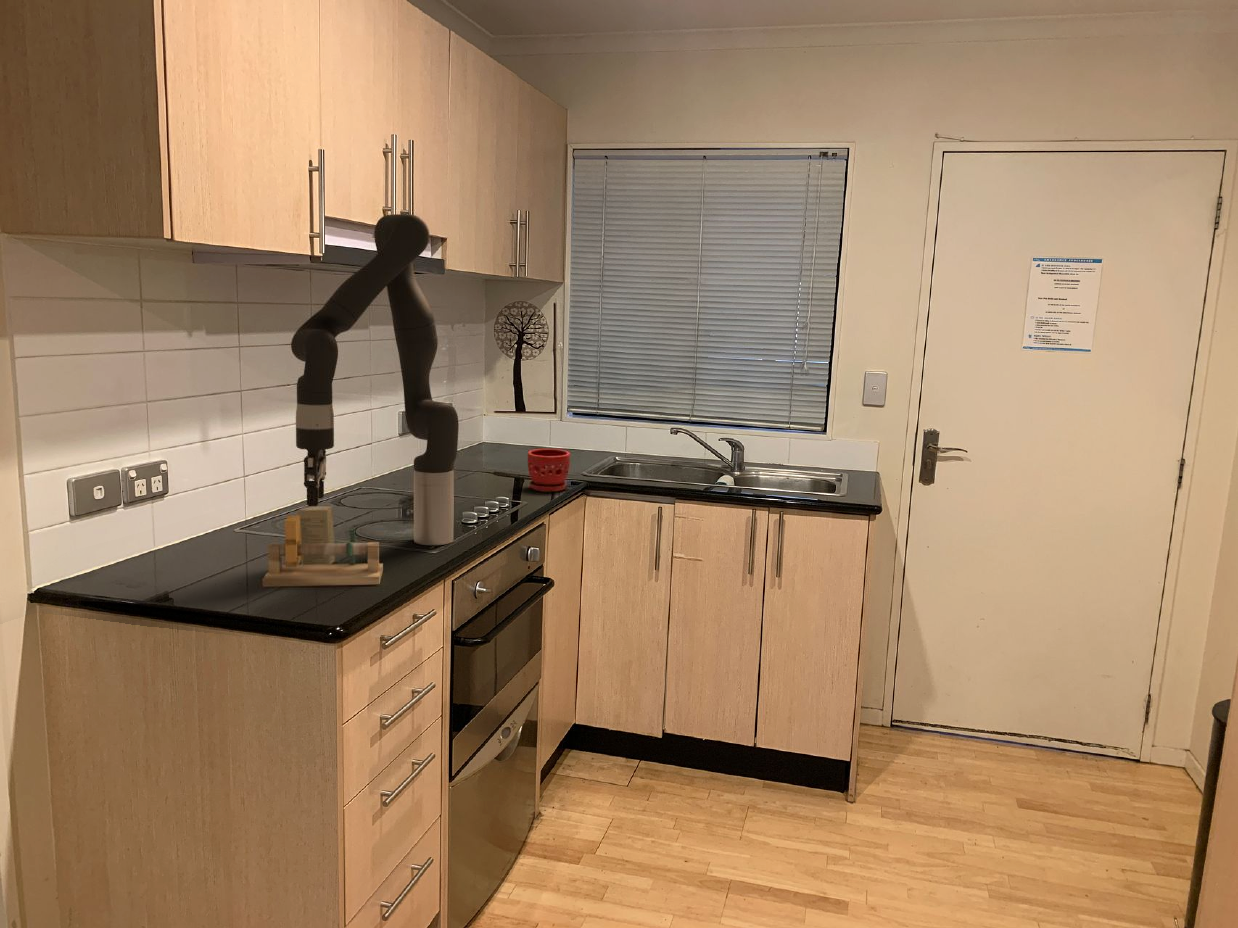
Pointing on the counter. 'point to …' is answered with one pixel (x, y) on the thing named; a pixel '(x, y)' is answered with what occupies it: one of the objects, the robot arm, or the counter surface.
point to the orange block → (292, 540)
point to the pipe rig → (325, 565)
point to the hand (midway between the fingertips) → (315, 501)
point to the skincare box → (316, 531)
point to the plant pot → (548, 469)
